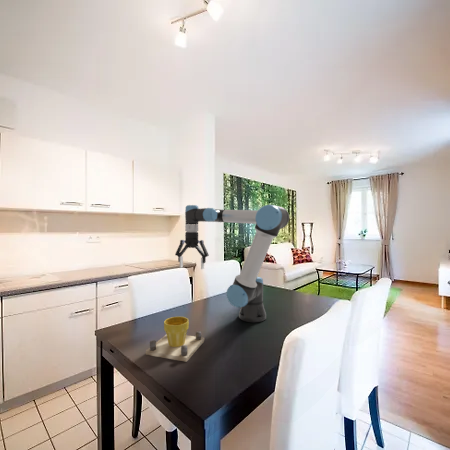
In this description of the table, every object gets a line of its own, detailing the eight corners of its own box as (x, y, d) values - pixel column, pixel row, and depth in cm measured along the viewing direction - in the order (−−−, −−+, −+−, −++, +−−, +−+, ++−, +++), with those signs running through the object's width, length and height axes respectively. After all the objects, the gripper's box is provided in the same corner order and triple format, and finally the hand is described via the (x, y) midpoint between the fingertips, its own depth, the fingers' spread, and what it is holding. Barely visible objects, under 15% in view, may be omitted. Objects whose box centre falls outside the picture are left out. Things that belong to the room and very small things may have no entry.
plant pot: (158, 346, 104) (158, 323, 104) (172, 336, 114) (172, 314, 114) (180, 351, 100) (180, 326, 100) (193, 340, 110) (193, 318, 110)
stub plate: (204, 341, 113) (204, 331, 113) (186, 361, 96) (186, 349, 96) (168, 335, 118) (168, 326, 118) (145, 354, 101) (145, 343, 101)
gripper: (169, 231, 148) (169, 268, 147) (209, 232, 140) (209, 270, 140) (175, 231, 155) (175, 266, 155) (214, 231, 147) (214, 268, 147)
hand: (191, 268), depth 147 cm, fingers open, 13 cm apart
